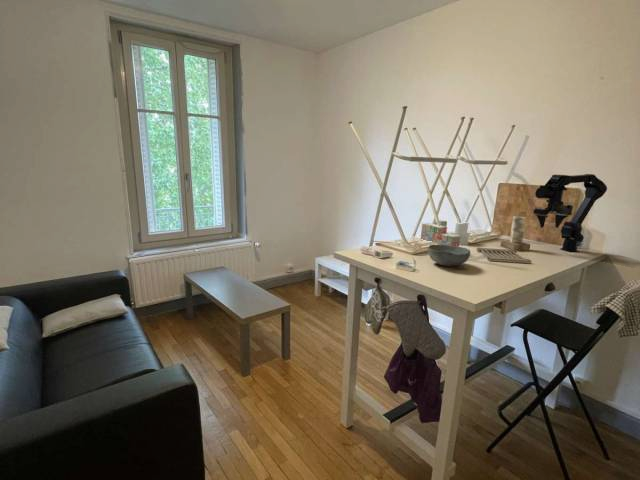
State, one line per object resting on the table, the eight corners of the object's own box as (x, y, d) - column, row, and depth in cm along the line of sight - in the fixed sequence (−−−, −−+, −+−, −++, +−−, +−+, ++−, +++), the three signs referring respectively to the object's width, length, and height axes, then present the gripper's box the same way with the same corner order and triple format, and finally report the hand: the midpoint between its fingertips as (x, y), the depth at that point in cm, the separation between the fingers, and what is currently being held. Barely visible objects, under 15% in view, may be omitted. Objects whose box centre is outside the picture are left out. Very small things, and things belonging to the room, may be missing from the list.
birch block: (519, 241, 189) (523, 216, 186) (521, 243, 184) (525, 218, 181) (509, 240, 190) (513, 216, 187) (511, 242, 186) (515, 217, 182)
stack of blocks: (458, 253, 173) (461, 230, 171) (449, 254, 171) (452, 230, 168) (427, 244, 192) (430, 222, 189) (419, 244, 189) (421, 223, 186)
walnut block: (515, 246, 194) (516, 240, 193) (529, 251, 184) (530, 244, 183) (500, 247, 192) (501, 240, 191) (513, 251, 182) (514, 244, 182)
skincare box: (445, 241, 198) (447, 221, 196) (439, 242, 197) (441, 221, 194) (437, 239, 204) (440, 219, 201) (432, 239, 203) (434, 219, 200)
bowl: (465, 261, 158) (467, 245, 157) (471, 273, 142) (473, 254, 140) (425, 257, 163) (427, 241, 161) (426, 268, 146) (428, 250, 145)
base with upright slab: (463, 245, 191) (465, 224, 188) (448, 242, 197) (450, 222, 195) (470, 243, 196) (473, 223, 193) (456, 240, 203) (458, 220, 200)
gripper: (552, 200, 169) (547, 230, 172) (584, 200, 172) (577, 230, 176) (535, 197, 180) (530, 226, 183) (564, 198, 183) (559, 226, 187)
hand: (549, 227), depth 182 cm, fingers open, 9 cm apart
